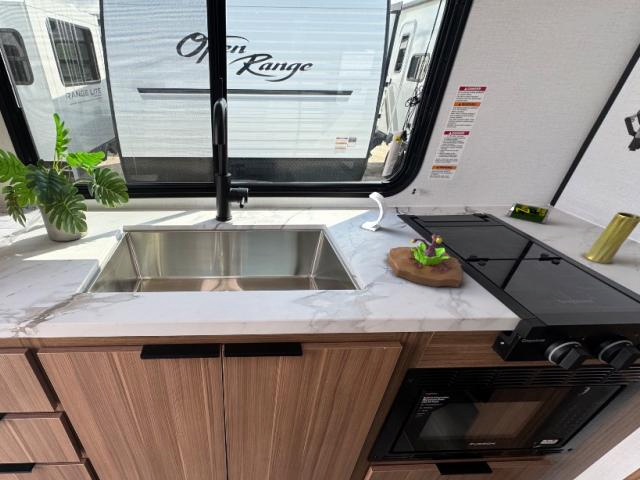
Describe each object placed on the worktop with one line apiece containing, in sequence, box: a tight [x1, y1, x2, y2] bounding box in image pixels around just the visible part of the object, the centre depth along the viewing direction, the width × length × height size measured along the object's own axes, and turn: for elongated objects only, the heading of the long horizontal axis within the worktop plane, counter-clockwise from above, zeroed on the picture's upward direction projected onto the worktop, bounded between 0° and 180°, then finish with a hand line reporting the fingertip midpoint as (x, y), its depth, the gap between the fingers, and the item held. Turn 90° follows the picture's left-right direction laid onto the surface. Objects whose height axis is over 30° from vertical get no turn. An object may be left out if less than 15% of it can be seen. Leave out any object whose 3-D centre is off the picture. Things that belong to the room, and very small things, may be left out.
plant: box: [386, 233, 463, 288], centre depth 91 cm, size 20×20×11 cm
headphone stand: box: [361, 191, 388, 232], centre depth 116 cm, size 5×6×12 cm
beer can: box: [506, 202, 552, 224], centre depth 127 cm, size 5×5×12 cm
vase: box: [584, 211, 640, 264], centre depth 97 cm, size 6×6×14 cm
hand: (631, 150), depth 107 cm, fingers closed
